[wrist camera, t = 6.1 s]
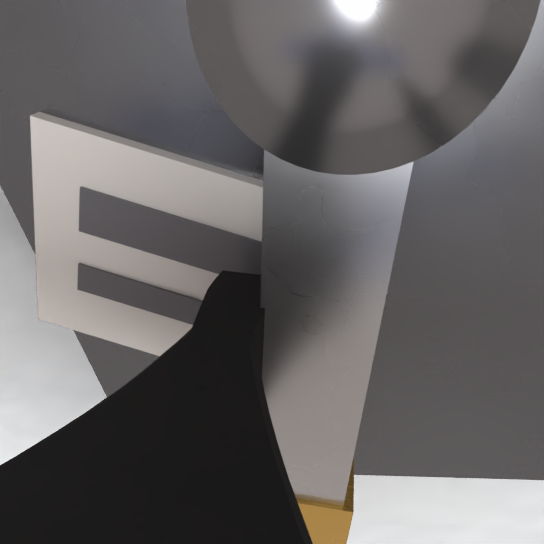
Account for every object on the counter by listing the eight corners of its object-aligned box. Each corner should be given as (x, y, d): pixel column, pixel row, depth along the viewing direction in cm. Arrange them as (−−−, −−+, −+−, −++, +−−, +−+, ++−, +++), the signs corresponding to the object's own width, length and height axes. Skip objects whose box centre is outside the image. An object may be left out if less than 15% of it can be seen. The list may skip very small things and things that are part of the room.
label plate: (45, 311, 11) (36, 320, 11) (39, 111, 9) (27, 116, 8) (316, 394, 11) (315, 405, 11) (396, 222, 9) (397, 231, 8)
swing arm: (258, -138, 6) (171, -239, 3) (488, -135, 6) (613, -246, 3) (251, 450, 12) (220, 586, 10) (357, 467, 12) (357, 613, 9)
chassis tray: (152, 446, 15) (139, 477, 14) (-75, -37, 8) (-127, -38, 7) (744, 456, 11) (778, 498, 11) (1182, -381, 5) (1379, -467, 4)
